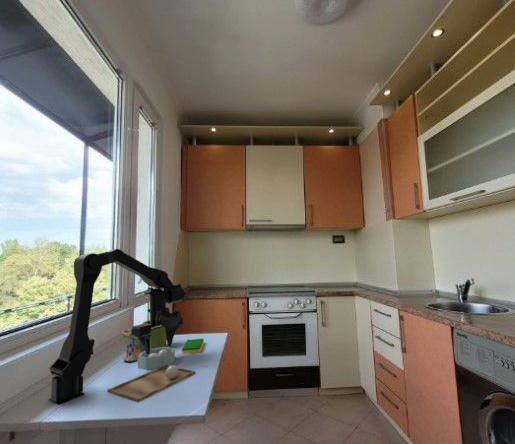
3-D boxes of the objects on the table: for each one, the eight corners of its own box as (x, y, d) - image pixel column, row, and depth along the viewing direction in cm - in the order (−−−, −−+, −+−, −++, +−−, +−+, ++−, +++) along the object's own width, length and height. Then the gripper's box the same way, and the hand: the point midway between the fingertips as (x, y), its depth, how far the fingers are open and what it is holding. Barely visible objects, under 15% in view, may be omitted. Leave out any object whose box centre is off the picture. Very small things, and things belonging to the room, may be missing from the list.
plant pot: (170, 350, 117) (169, 322, 119) (139, 354, 115) (139, 325, 117) (172, 342, 129) (172, 317, 130) (145, 346, 126) (144, 319, 128)
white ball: (153, 368, 98) (150, 359, 97) (146, 366, 100) (143, 357, 99) (162, 360, 101) (159, 351, 100) (155, 358, 103) (152, 349, 102)
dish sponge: (181, 355, 110) (181, 349, 111) (187, 345, 124) (187, 339, 124) (200, 354, 111) (200, 347, 111) (203, 344, 125) (203, 338, 125)
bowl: (153, 372, 93) (153, 360, 94) (131, 367, 100) (131, 355, 100) (181, 360, 103) (181, 349, 104) (160, 356, 110) (159, 345, 110)
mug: (145, 361, 105) (144, 331, 107) (118, 364, 104) (118, 334, 105) (151, 351, 117) (151, 325, 118) (128, 354, 115) (127, 327, 117)
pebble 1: (158, 347, 104) (165, 349, 107) (153, 358, 102) (161, 360, 105) (164, 349, 102) (172, 351, 105) (160, 361, 100) (168, 362, 103)
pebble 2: (171, 382, 83) (171, 368, 84) (163, 380, 85) (162, 366, 86) (181, 377, 87) (181, 364, 87) (173, 375, 89) (172, 362, 89)
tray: (137, 403, 72) (137, 399, 73) (107, 393, 80) (107, 389, 80) (195, 374, 89) (195, 371, 89) (165, 368, 97) (165, 365, 97)
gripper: (150, 311, 93) (151, 361, 91) (192, 301, 108) (194, 344, 106) (129, 310, 99) (130, 357, 97) (172, 301, 114) (173, 342, 112)
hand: (159, 350), depth 103 cm, fingers open, 9 cm apart
